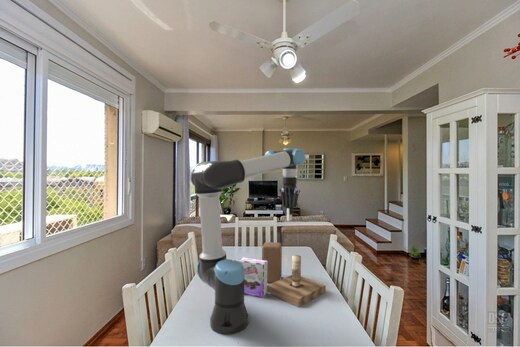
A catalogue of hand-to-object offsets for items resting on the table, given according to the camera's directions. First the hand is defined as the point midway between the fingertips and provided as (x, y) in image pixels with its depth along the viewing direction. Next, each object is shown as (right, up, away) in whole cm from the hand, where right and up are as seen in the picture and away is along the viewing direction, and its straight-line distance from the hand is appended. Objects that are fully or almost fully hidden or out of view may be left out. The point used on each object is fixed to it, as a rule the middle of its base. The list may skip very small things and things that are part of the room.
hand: (289, 220), depth 141 cm
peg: (+2, -34, -10) cm, 36 cm away
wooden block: (-9, -35, +5) cm, 36 cm away
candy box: (-20, -35, -12) cm, 41 cm away
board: (+2, -34, -10) cm, 36 cm away
